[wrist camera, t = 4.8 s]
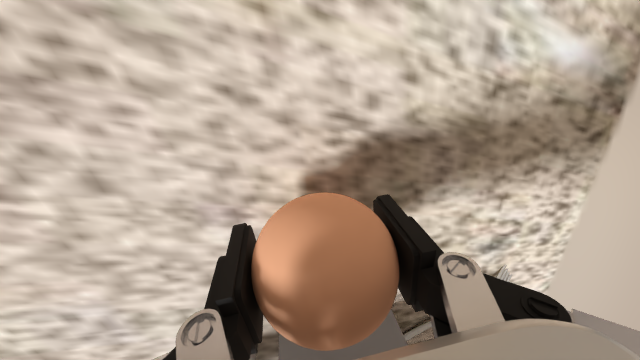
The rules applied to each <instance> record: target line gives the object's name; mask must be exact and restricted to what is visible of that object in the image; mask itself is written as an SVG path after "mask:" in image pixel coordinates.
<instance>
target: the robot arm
mask: <svg viewBox="0 0 640 360" xmlns="http://www.w3.org/2000/svg"><path fill="white" fill-rule="evenodd" d="M373 210H374V213H375V214H376V215H377V216H378V217H379V218H380V219H381V221H382V222H383V223H384V225H385V226H386V228H387V229H388V231H389V233H390V235H391V237H392V239H393V241H394V244H395V247H396V250H397V255H398V260H399V283H398V289H399V290H400V292H401V294H402V296H403V298H404V300H405V301H406V303H407V304H408V305H412V307H413V309H414V310H415V312H418V311H422V310H424V312H425V313H427V314H429V315H430V319H431V324H432V329H433V334H434V339H430V340H426V341H422V342H419V343H415V344H411V345H407V346H404V347H400V348H396V349H392V350H389V351H385V352H381V353H378V354H374V355H370V356H367V357H363V358H359V359H355V360H640V331H637V330H634V329H631V328H628V327H625V326H622V325H619V324H616V323H613V322H610V321H607V320H604V319H601V318H598V317H595V316H592V315H589V314H587V313H584V312H580V311H577V310H575V309H572V310H571V312H570V311H567V310H566V309H565V308H564V307H563V306H562V305H560V303H558V302H557V301H555V300H554V299H552V298H551V297H549V296H547V295H545V294H542V293H540V292H537V291H534V290H531V289H528V288H525V287H522V286H519V285H516V284H513V283H510V282H507V281H504V280H501V279H498V278H495V277H492V276H489V275H486V274H483V273H482V271H481V269H480V267H479V266H478V264H477V263H476V262H475V261H474V260H473V259H471V258H470V257H468V256H466V255H463V254H460V253H455V252H447V253H444V252H443V251H442V250H441V249H440V248H439V247H438V246H437V244H436V243H435V242H434V241H433V240H432V239H431V238H430V237H429V235H428V234H427V233H426V232H425V231H424V230H423V229H422V228H421V226H420V225H419V224H418V223H417V222H416V221H415V220H414V219H413V218H412V217H410V216H409V217H408V216H407V215H406V214H405V213H404V212H403V210H402V209H401V208H400V207H399V206H398V205H397V203H396V202H395V201H394V200H393V199H392V198H391V196H390V195H388V194H387V195H382V196H378V197H377V198H376V200H374V201H373ZM255 244H256V239H255V236H254V233H253V230H252V227H251V225H249V226H247V224H246V223H243V224H238V225H234V226H233V229H232V233H231V237H230V241H229V245H228V249H227V253H226V256H221V257H219V259H218V262H217V265H216V269H215V272H214V276H213V280H212V283H211V287H210V290H209V294H208V298H207V301H206V305H205V308H204V310H201V311H198V312H196V313H195V314H193V315H192V316H190V317H189V318H188V319H187V320H186V321H185V322H184V323H183V325H182V326H181V327H180V329H179V331H178V333H177V336H176V347H175V348H174V349H173V350H172V351H171V352H170V353H169V354H168V355H167V356H166V357H165V358H164V359H162V360H249V359H250V355H251V354H255V353H257V346H258V343H261V342H262V331H263V313H262V311H261V309H260V307H259V305H258V303H257V301H256V298H255V295H254V291H253V286H252V279H251V263H252V256H253V251H254V247H255Z"/></svg>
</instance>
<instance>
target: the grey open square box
mask: <svg viewBox="0 0 640 360" xmlns="http://www.w3.org/2000/svg"><path fill="white" fill-rule="evenodd" d="M407 345H408V344H407V342H406V340H405V338H404V335H403V333H402V331H401V329H400V327H399V325H398V322H397V320H396V318H395V316H394V314H393V312H392V309H391V310H390V312H389V313H388V315H387V317H386V318H385V320H384V321H383V322H382V324H381V325H380V326H379V327H378V328H377V329H376V330H375V331H374V332H373V333H372V334H371V335H369V336H368V337H367V338H365V339H364V340H362V341H360V342H359V343H356V344H354V345H352V346H349V347H346V348H343V349H338V350H331V351H320V350H313V349H309V348H305V347H302V346H299V345H297V344H295V343H293V342H291V341H289V340H288V339H286V338H285V337H283V336H282V335H281V334H280V333H279V360H355V359H359V358H363V357H367V356H370V355H374V354H378V353H381V352H385V351H389V350H392V349H396V348H400V347H404V346H407Z"/></svg>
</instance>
